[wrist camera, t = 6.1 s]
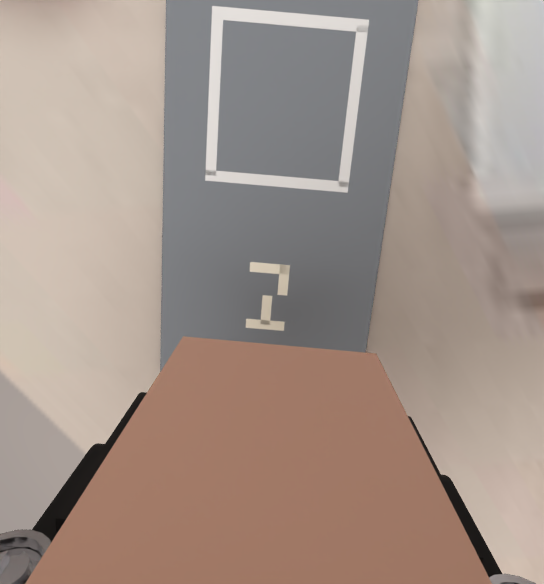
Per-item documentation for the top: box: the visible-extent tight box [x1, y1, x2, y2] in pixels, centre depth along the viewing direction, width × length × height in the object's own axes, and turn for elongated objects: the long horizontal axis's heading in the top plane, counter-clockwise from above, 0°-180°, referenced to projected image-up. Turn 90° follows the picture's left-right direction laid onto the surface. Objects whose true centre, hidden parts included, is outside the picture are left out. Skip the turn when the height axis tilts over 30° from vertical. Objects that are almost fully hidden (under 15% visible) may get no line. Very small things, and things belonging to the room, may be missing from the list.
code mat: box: [160, 0, 418, 372], centre depth 24 cm, size 13×23×1 cm, turn 175°
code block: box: [25, 336, 492, 584], centre depth 8 cm, size 5×5×7 cm
